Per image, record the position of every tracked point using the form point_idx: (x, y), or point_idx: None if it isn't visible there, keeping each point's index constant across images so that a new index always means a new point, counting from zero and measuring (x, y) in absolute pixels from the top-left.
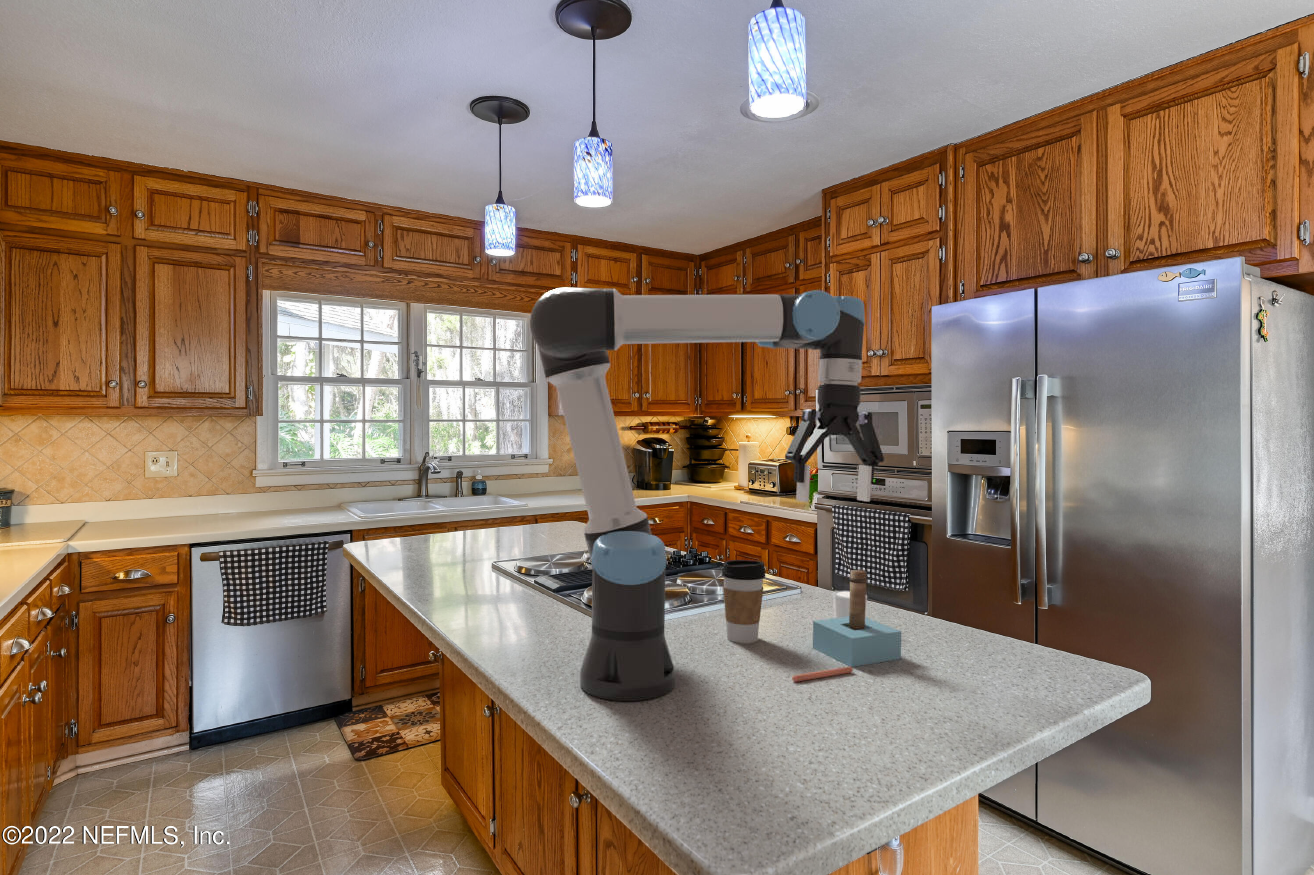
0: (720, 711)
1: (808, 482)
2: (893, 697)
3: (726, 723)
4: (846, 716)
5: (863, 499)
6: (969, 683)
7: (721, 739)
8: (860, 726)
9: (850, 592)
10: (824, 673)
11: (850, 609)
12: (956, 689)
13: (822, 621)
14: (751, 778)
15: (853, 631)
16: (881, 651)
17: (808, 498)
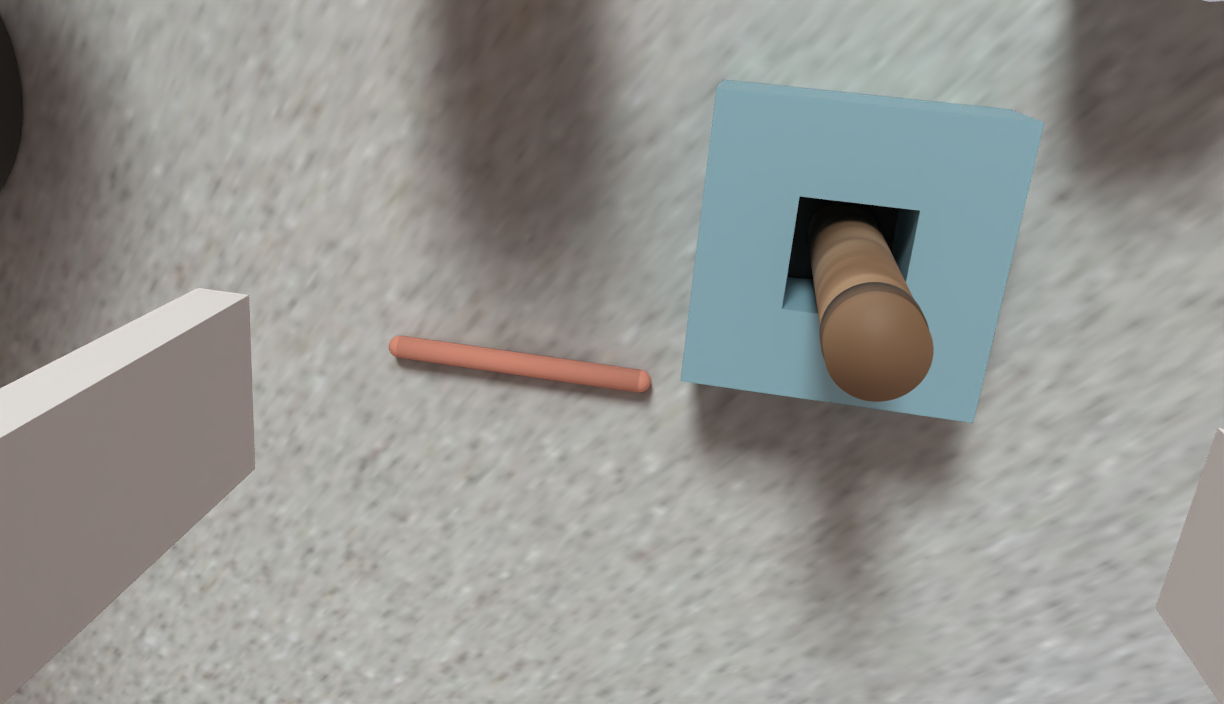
0: None
1: (93, 598)
2: (606, 587)
3: None
4: (383, 598)
5: (1181, 563)
6: (939, 647)
7: None
8: (376, 653)
9: (824, 292)
10: (516, 373)
11: (817, 273)
12: (847, 652)
13: (755, 116)
14: None
15: (766, 314)
16: None
17: (229, 489)
